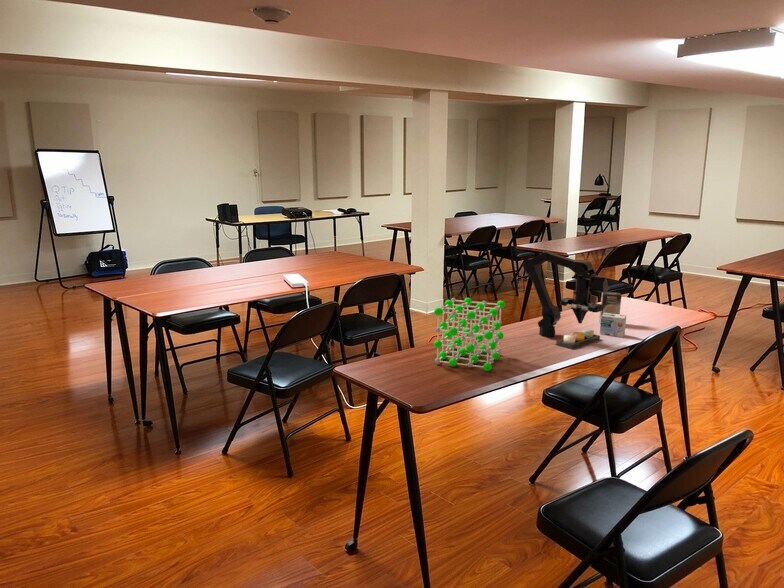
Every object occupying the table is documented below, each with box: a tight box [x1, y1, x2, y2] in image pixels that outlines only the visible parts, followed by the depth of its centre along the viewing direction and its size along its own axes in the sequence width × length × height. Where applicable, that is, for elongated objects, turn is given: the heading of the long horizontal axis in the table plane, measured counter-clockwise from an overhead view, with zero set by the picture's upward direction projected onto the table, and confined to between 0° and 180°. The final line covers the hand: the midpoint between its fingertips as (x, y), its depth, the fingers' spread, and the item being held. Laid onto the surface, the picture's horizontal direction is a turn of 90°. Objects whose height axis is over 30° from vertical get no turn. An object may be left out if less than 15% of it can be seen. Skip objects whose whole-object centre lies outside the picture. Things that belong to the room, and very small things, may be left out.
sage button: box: [581, 328, 595, 338], centre depth 276 cm, size 5×5×4 cm
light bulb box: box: [599, 313, 627, 338], centre depth 284 cm, size 11×7×11 cm, turn 62°
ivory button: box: [563, 334, 576, 344], centre depth 267 cm, size 5×5×4 cm
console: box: [553, 333, 602, 351], centre depth 272 cm, size 10×23×3 cm, turn 129°
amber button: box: [572, 331, 585, 341], centre depth 271 cm, size 5×5×4 cm
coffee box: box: [598, 291, 622, 325], centre depth 306 cm, size 9×6×16 cm
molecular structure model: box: [433, 297, 506, 372], centre depth 251 cm, size 24×25×24 cm
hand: (580, 323), depth 270 cm, fingers closed
